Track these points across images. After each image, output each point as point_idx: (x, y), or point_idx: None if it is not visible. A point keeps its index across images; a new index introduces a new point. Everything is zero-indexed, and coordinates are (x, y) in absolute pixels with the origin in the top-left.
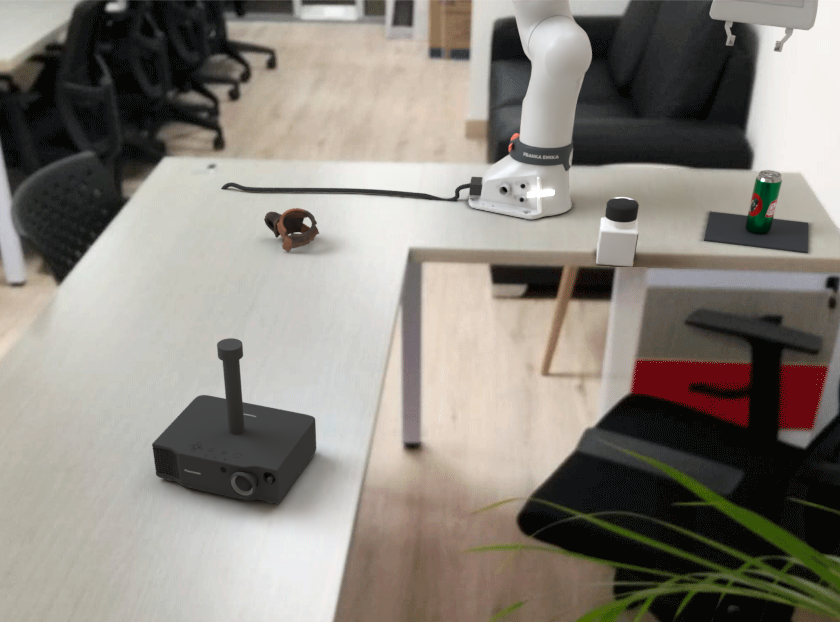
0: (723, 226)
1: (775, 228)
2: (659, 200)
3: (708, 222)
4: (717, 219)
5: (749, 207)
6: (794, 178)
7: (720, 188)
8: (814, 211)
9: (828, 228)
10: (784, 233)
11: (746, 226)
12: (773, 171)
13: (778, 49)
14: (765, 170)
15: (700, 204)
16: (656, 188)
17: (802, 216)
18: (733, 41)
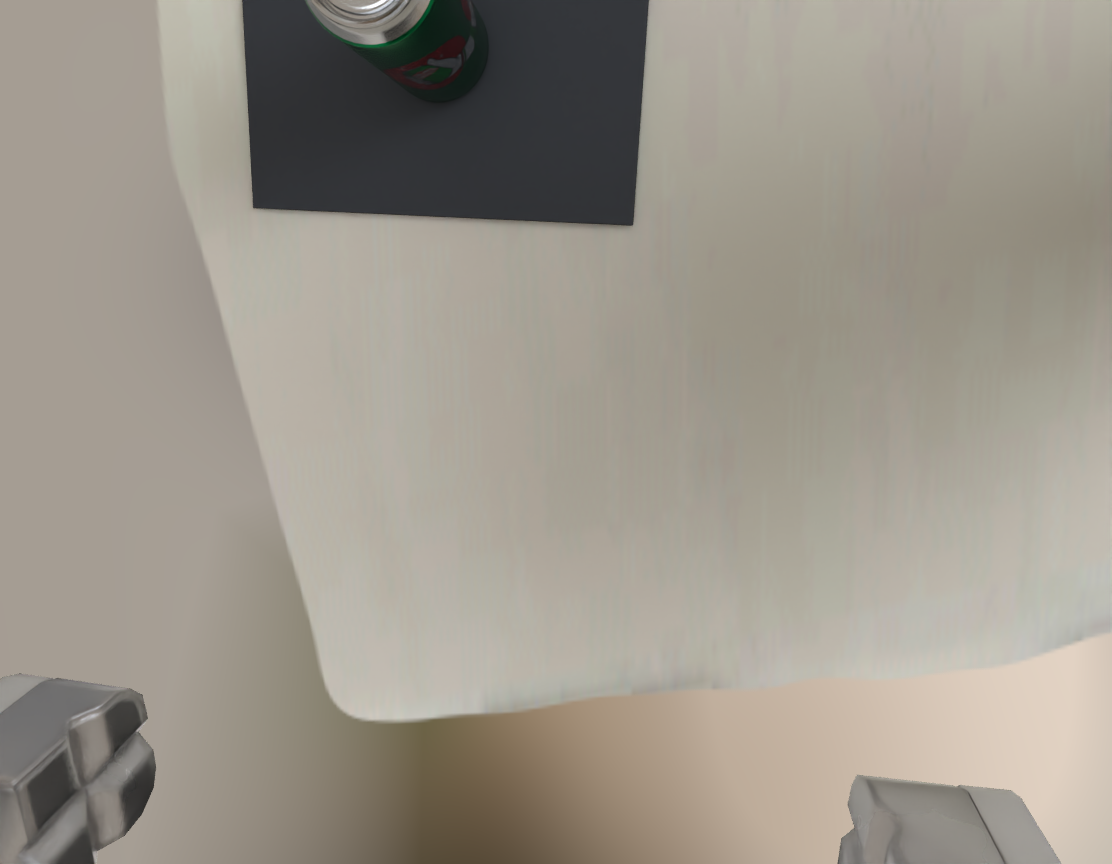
0: (577, 55)
1: (370, 100)
2: (842, 316)
3: (640, 85)
4: (602, 135)
5: (472, 14)
6: (329, 678)
7: (592, 515)
8: (241, 355)
9: (181, 182)
10: (333, 50)
11: (483, 21)
12: (342, 19)
13: (46, 688)
14: (386, 16)
15: (671, 315)
16: (851, 455)
17: (280, 288)
18: (897, 828)
